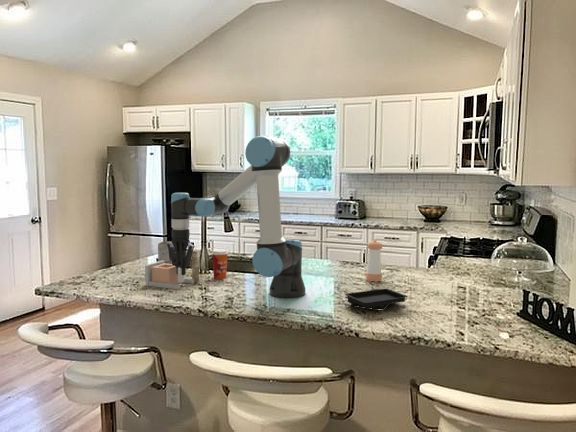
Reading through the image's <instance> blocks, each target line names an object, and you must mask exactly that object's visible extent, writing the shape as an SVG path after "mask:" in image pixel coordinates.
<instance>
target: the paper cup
mask: <svg viewBox="0 0 576 432" xmlns="http://www.w3.org/2000/svg"><path fill="white" fill-rule="evenodd" d="M228 254H229V252H228V250H227V249H223V248H220V249H219V248H218V249H213V250H212V252H211V255H212V268H213V278H214V279H215V280H224V279H227V269H228Z"/></svg>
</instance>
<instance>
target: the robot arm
mask: <svg viewBox="0 0 576 432" xmlns="http://www.w3.org/2000/svg"><path fill="white" fill-rule="evenodd" d="M290 156H291V148H290V145H289V144H288V142H287V141H285V140H284V139H283V138H281V137H274V136H268V135H259V136H255V137H253V138H252V139H250V140H249V141H248V143H247V145H246V148H245V159H246V161H247V162H248V163H249V167H247V168H246V169H245V170H244V171H242V172H241V173H240V174H239V175H238V176H236V178H235V179H233V180H232V181H230V183H228V184H227V185H226V186H224V188H222V189H221V190H220V191H219V192H217V193H216V194H215V195H214V196H209V197H190V194H189V193H188V192H174V193H172V194H171V199H170V200H171V201H170V204H171V205H170V207H171V209H170V211H171V228H172V229H171V241H172V242H171V243H169V244H167V247H168V248H169V252H170V257H171V261H172V265H173V266H176V273H177V275H178V283H179V284H182V282H184V278H185V275H186V274H187V273H186V272H187V269H186V268H187V267H189V266H191V262H192V252H193V251H194V249H195V248H196V247H195V246H196V245H195V244H191V241H190V235H191V234H190V229H189V228H190V216H193V217H201V218H202V217H203V218H204V217H205V218H206V217H207V218H208V217H212V215H216V214H217V215H218V214H223V213H226V212H228V211H229V209H230V206H231V205H232V204H233V203H235V202H236V201H237V200H238V199H240V198H241V197H242V196H243V195H244V194H246V193H248V191H249V190H251V189H252V188H253V187H254V186H256V191H257V192H256V194H257V195H256V197H257V209H258V210H257V211H258V224H259V238H258V240H257V241H256V250H255V251H254V254H253V255H252V266H253V268H254V270H255V271H256V272H257V273H258V274H259V275H261V277H264V278H271V277H272V280H271V283H270V286H269V295H271V296H273V297H276V298H283V299H284V298H286V299H290V298H291V299H292V298H299V297H303V296H305V295H306V286H305V283H304V280H303V276H302V275H303V274H302V265H303V263H302V260H303V259H302V257H303V247H302V246H303V245H302V244H303V243H302V241H301V240H299V239H293V238H289V239H288V238H285V237H284V236H283V235H282V234H283V231H282V230H283V229H282V218H281V201H280V199H281V198H280V184H279V174H280V173H282V171H283V167H284V166H285V165H286V164H287V162H288V161H289V160H290ZM174 247H175V248H174Z"/></svg>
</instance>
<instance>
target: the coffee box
mask: <svg viewBox="0 0 576 432" xmlns="http://www.w3.org/2000/svg"><path fill="white" fill-rule="evenodd" d="M171 242H172V240H171V241H170V240H169V241H167V240H166V241H165V240H164V241H162V242H159V243H157V262H158V261H162V260H163V261H165V263H166V264H172V261H171V257H170V252H169V248H168V247H167V244H169V243H171ZM174 248H175V247H174Z"/></svg>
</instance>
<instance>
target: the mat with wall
mask: <svg viewBox="0 0 576 432" xmlns="http://www.w3.org/2000/svg"><path fill="white" fill-rule="evenodd" d="M164 263H165V261H163V260H162V261H158V260H157V261H155V262H152V263H149V264H144V265H145V266H144V272H145V273H144V277H145V278H144V279H145V281H144V282H145V286H148V287H156V288H157V287H158V288H164V289H165V288H166V289H172V290H173V289H175V290H181V284H182V283H185V284H192V285H194V284H195V282H194V279H192V278H185V277H184V282H182V283H181V284H168V283H160V282H152V268H151V267H154V266H157V265H160V264H164Z"/></svg>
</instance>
